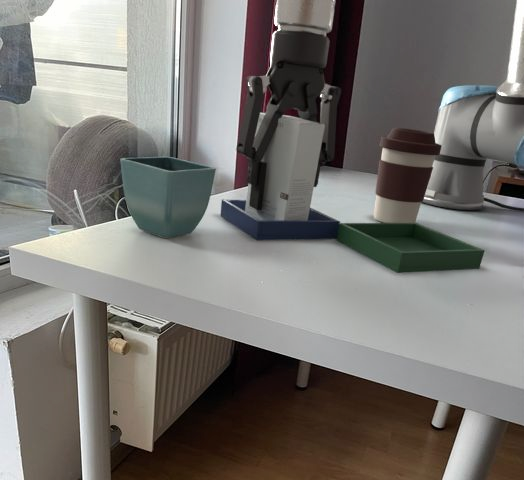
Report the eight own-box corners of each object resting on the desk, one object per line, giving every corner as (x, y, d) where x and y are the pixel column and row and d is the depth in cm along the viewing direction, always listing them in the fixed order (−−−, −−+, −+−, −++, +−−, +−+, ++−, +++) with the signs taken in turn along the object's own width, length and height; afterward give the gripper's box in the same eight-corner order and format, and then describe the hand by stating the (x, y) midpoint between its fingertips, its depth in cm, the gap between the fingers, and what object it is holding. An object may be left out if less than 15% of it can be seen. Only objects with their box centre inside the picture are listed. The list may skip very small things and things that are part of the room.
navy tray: (294, 216, 92) (296, 200, 90) (337, 239, 81) (340, 221, 80) (220, 216, 86) (221, 199, 85) (256, 240, 75) (258, 221, 74)
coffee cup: (417, 219, 101) (438, 132, 95) (426, 231, 93) (450, 136, 86) (363, 211, 102) (380, 124, 95) (367, 223, 93) (386, 128, 86)
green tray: (412, 239, 86) (416, 222, 85) (479, 268, 75) (485, 250, 74) (336, 240, 80) (339, 222, 79) (397, 272, 69) (402, 252, 68)
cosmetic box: (243, 218, 84) (252, 112, 77) (269, 214, 88) (280, 112, 81) (285, 232, 79) (299, 120, 72) (311, 227, 83) (326, 120, 76)
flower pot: (212, 235, 75) (218, 167, 71) (168, 246, 68) (171, 171, 64) (165, 221, 79) (167, 155, 75) (118, 229, 72) (118, 158, 68)
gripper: (349, 43, 80) (323, 203, 90) (219, 20, 71) (206, 201, 81) (381, 43, 74) (349, 215, 84) (243, 18, 65) (226, 213, 75)
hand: (279, 208), depth 82 cm, fingers closed on cosmetic box, 7 cm apart
